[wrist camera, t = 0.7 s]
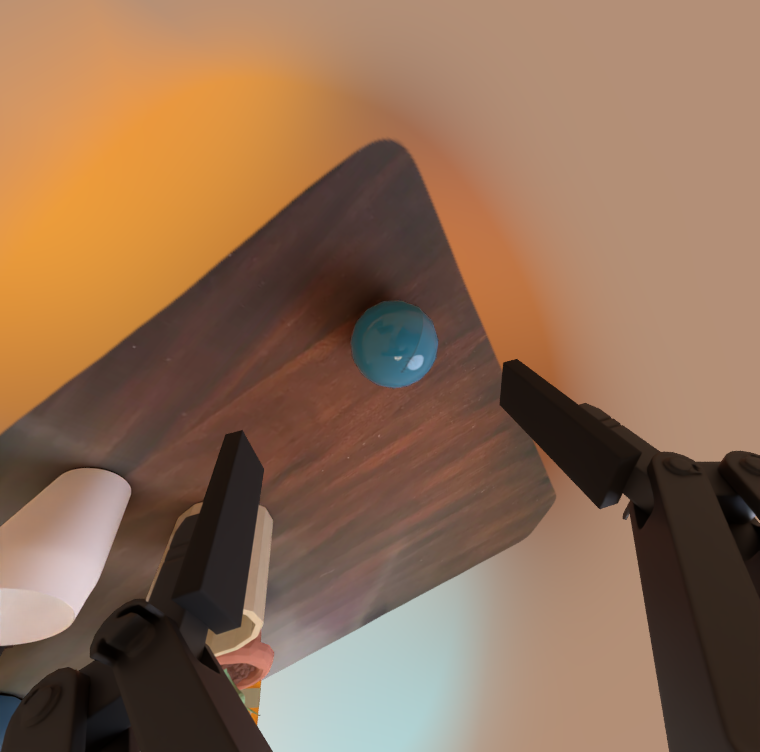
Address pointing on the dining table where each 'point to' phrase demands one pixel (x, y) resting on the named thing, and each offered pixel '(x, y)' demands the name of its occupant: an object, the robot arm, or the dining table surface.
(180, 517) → the beige faceted pot
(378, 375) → the ball
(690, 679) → the robot arm
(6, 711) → the wine bottle
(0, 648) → the vessel
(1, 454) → the dining table surface
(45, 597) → the cup
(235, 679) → the decorative flower
